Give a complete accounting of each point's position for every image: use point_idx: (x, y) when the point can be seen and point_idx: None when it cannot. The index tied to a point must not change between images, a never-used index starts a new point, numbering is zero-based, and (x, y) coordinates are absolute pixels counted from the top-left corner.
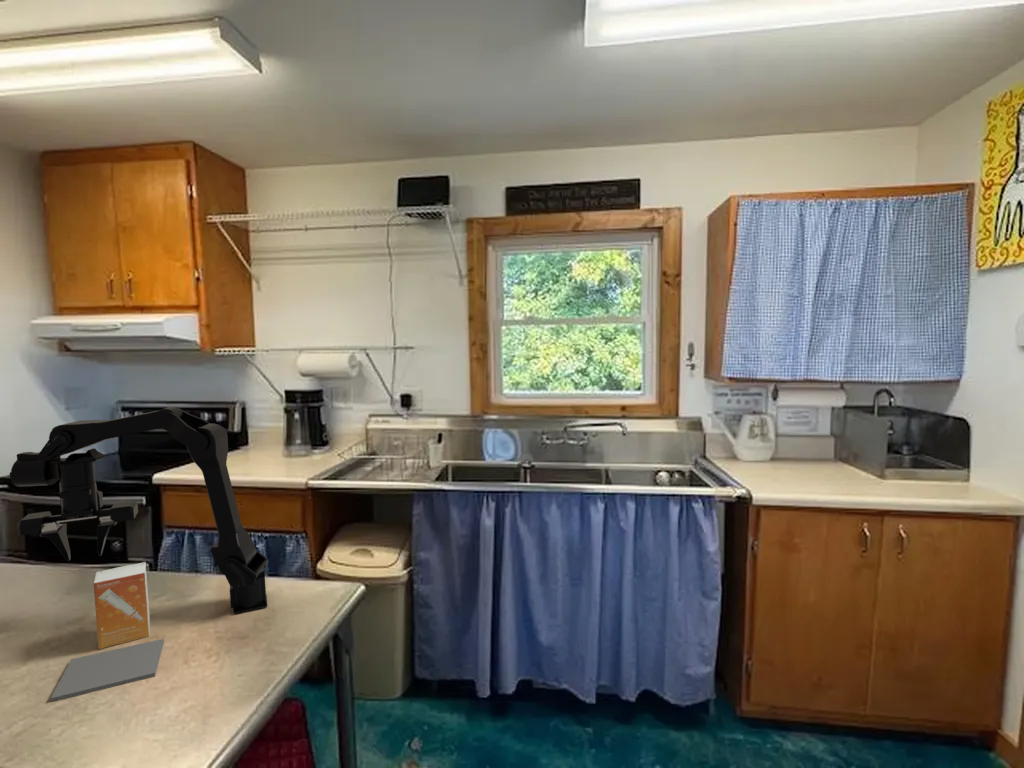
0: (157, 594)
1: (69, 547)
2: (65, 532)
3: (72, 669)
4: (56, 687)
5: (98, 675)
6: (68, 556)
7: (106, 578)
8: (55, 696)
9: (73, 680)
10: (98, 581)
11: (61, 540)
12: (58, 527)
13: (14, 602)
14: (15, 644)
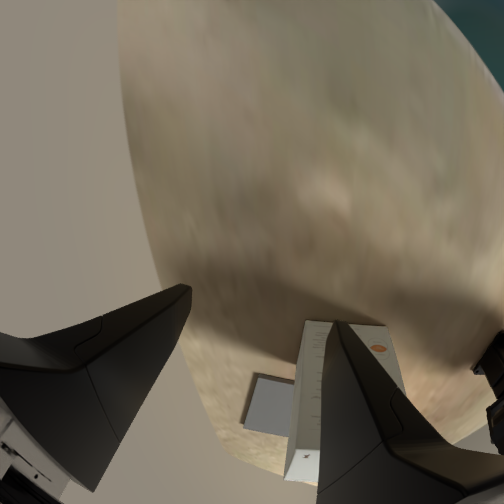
0: (441, 173)
1: (158, 315)
2: (75, 395)
3: (260, 399)
4: (246, 418)
5: (289, 424)
6: (180, 331)
7: (310, 479)
8: (247, 428)
9: (263, 417)
10: (293, 479)
11: (120, 441)
12: (50, 474)
13: (125, 2)
14: (157, 242)
